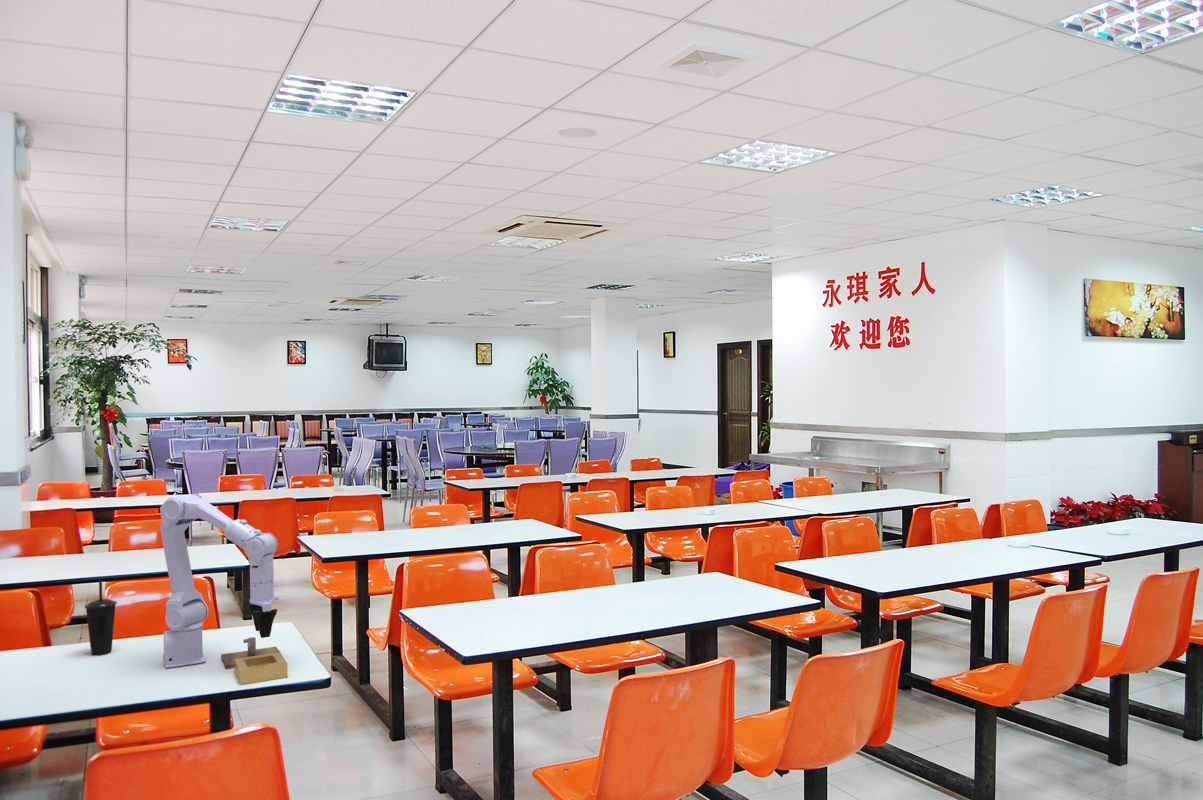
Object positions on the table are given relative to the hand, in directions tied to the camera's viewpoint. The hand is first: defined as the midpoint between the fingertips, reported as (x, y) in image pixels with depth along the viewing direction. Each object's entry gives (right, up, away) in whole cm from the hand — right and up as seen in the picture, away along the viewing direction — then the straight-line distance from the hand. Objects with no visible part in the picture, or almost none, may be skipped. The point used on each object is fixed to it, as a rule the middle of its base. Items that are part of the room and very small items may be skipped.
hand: (262, 633), depth 225 cm
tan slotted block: (+2, -9, -7) cm, 11 cm away
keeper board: (-6, -9, +7) cm, 12 cm away
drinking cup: (-50, -10, +15) cm, 53 cm away
